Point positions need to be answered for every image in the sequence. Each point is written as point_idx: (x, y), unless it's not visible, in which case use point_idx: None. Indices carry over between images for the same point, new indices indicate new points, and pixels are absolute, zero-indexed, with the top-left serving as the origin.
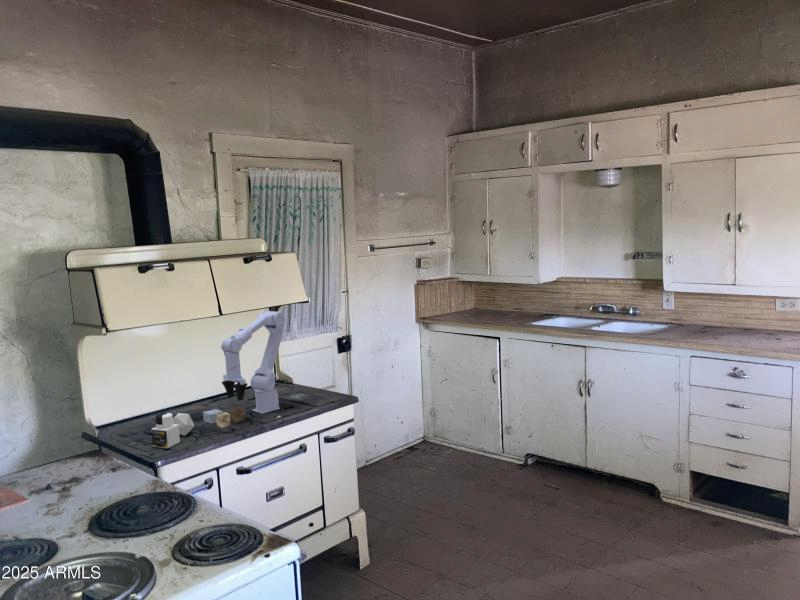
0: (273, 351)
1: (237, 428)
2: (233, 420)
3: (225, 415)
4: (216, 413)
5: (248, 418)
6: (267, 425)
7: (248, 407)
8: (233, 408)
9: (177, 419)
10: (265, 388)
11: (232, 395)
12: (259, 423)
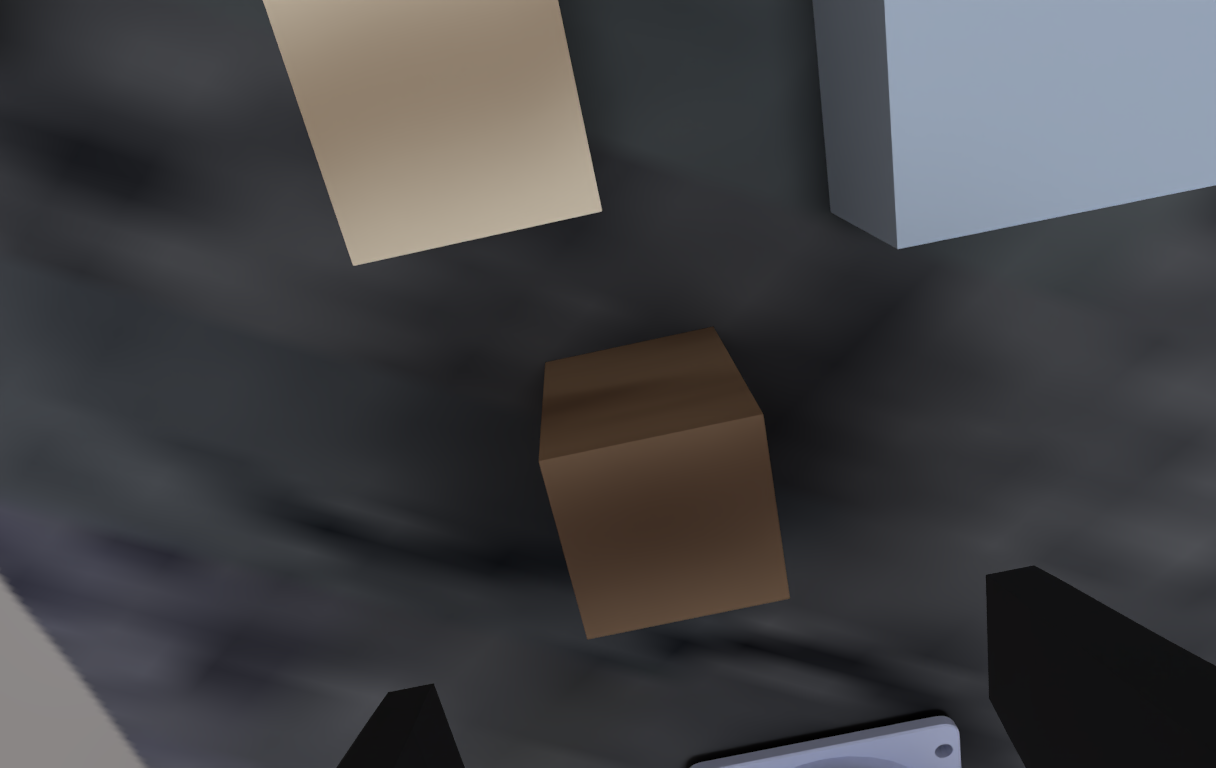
0: None
1: (153, 255)
2: (655, 343)
3: (314, 133)
4: (885, 65)
5: None
6: (73, 666)
7: None
8: (757, 471)
9: None
10: None
11: (1014, 709)
12: (245, 612)
